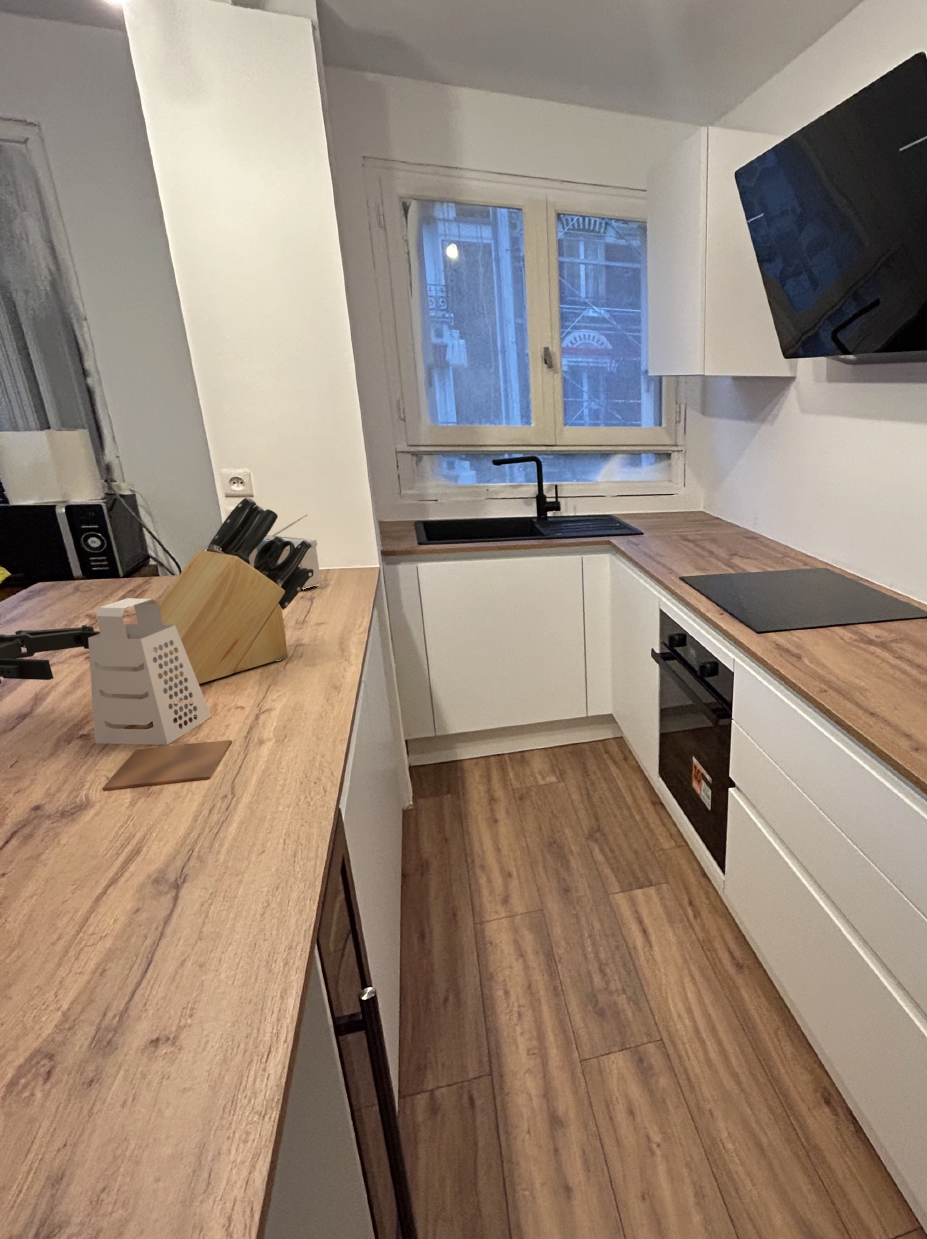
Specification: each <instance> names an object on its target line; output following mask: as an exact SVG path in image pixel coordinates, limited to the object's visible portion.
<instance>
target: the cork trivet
mask: <svg viewBox="0 0 927 1239" xmlns="http://www.w3.org/2000/svg"><path fill="white" fill-rule="evenodd" d="M232 744H233V740H232V739H226V740H217V741H216V740H215V741H207V742H206V741H204V742H195V743H185V744H175V745H174V744H173V745H163V746H153V747H144V748H136V749H135V750H134V751H133V752H132V753H131V754H130V755H129V757H128V758H127V759H126V760H125V761H124V763H123V764H121V766H120V767H119V768H118V769H117V771H116V772H115V773H113V775H112V776H111V777H110V778H109V780H107V782H106V783H105V784H104V785H103V787H102V791H109V790H110V791H111V790H119V789H120V790H121V789H128V788H138V787H147V786H157V785H165V784H175V783H181V782H182V783H183V782H192V781H201V780H209V779H211V778H212V777H213V774H214V773H215V771H216V769H217V768H218V767H219V765H220V763H221V761H222V760H223V758H224V756H225V755H226V753H227V752H228V749H229V748H230V746H231V745H232ZM222 757H223V758H222ZM221 759H222V760H221Z"/></svg>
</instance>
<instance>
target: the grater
mask: <svg viewBox="0 0 927 1239" xmlns="http://www.w3.org/2000/svg"><path fill="white" fill-rule="evenodd" d="M132 606H133V607H134V612H135V616H136V620H137V623H125V621H124V618H123V616H124V613H125V610H126V609H127V608H130V607H132ZM95 618H96V623H97V627H98V630H99V632H100V634H97V635H95V636H92V637H89V638H88V642H89V649H88V654H89V669H90V670H89V671H90V684H91V699H92V701H91V702H92V711H93V712H92V713H93V715H92V716H93V726H94V727H93V729H94V744H109V745H110V744H111V745H112V744H117V745H119V744H120V745H157V746H158V745H161V746H162V745H163V746H169V745H170V744H171V743H174V742H175V741H176V740H177V739H179V738H181V737H182V736H184V735H186V734H187V733H189V732H190V731H192V730H193V729H195V728H197V727H198V726H200V725H202V724H204V723H205V722H206V721H208V720H209V719H211V718H212V717H211V716H212V714H211V711H210V708H209V706H208V703H207V701H206V699H205V696H204V694H203V691H202V688H201V686H200V684H198V681H197V679H196V676H195V674H194V671H193V669H192V666H191V664H190V661H189V659H188V656H187V654H186V651H185V649H184V646H183V644H182V641H181V639H180V636H179V634H178V631H177V629H176V626H175V625H163V623H162V619H161V614H160V610H159V603H158V602H157V601H155V599H154V598H137V597H136V598H135V597H133V598H132V597H127V598H124V599H120V600H118V601H115V602H111V603H108V604H106V605H102V606H98V609H97V611H96V615H95ZM177 648H178V653H175V652H174V650H176V649H177ZM153 649H158V651H157V653H155V652H154V651H153ZM159 649H163V650H159ZM169 650H172V651H173V654H169ZM164 652H167V653H168V654H164ZM143 669H144V670H143ZM159 673H162V675H163V677H158V674H159ZM164 673H168V675H167V676H164ZM175 674H178V676H179V678H175V677H174V676H175ZM180 674H184V675H183V677H181V676H180ZM170 676H172V677H173V678H172V677H170ZM180 701H182V703H181V702H180ZM175 702H177V703H175ZM190 702H192V703H190ZM194 716H197V717H196V719H195V717H194ZM179 717H181V719H179ZM210 717H211V718H210ZM175 718H176V721H177V722H174V719H175ZM190 718H191V719H192V721H191V722H190ZM208 718H209V719H208ZM207 719H208V720H207ZM205 720H206V721H205ZM185 721H186V722H187V723H186V725H185V723H184V722H185ZM204 721H205V722H204ZM151 722H152V726H153V727H150V728H148V729H143V728H142V729H141V728H140V729H139V728H126V727H128V726H129V725H131V726H147V725H149V724H150V723H151ZM180 724H181V725H182V727H181V728H180V726H179V725H180ZM199 724H200V725H199ZM125 726H126V727H125ZM196 726H197V727H196Z"/></svg>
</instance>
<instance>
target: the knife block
mask: <svg viewBox="0 0 927 1239" xmlns="http://www.w3.org/2000/svg"><path fill="white" fill-rule="evenodd" d="M278 518H279V516H278V514H277V513H276V512H275V511H273V510H271V509H269V508H268V509H264V508H263V507H261V506H260V505H258V504H257V503H256V501H255V500H253V499H252V498H251V497H250V496H246V497H244V498H243V499H242V500H241V501H239V503H237V505H236V506H235V507H234V508H233V510H232V511H231V512H230V513H229V514H228V516H227V517H226V518H225V519H224V521H223V523H221V526H220V527H219V528H218V530H217V531H216V533H215V535H214V536H213V537H212V539H211V541H210V542H209V544H208V546H207V548H206V550H202V549H198V550H197V551H195V553H194V555H193V556H192V557H191V558H190V560H189V561H188V563H187V564H186V565H185V567H184V568H183V570H182V571H181V572H180V574H179V575H178V576H177V578H176V579H175V580H174V582H173V583H172V585H171V587H170V588H169V589H168V590H167V592H166V593H165V595H164V596H163V597H162V599H161V600H160V602H159V603H158V605H159V610H160V614H161V619H162V623H163V625H175V626H176V629H177V631H178V634H179V636H180V639H181V641H182V644H183V646H184V649H185V651H186V654H187V656H188V659H189V661H190V664H191V666H192V669H193V671H194V674H195V676H196V679H197V681H198V684H199V685H201V684H204V683H208V682H210V681H213V680H217V679H220V678H224V677H227V676H230V675H233V674H236V673H239V672H243V671H245V670H250V669H252V668H256V667H259V666H262V665H266V664H269V663H273V662H277V661H276V660H280V659H282V660H283V659H286V658H288V657H289V654H288V645H287V639H286V638H287V637H286V630H285V623H284V615H283V611H284V610H285V609H287V608H288V606H290V604H291V603H292V602H293V601H294V599H295V598H296V597H297V596H298V595H299V593H300V592H301V591H302V590H301V589H302V588H303V586H304V585H305V583H306V582H307V581H308V579H309V578H311V577H312V576H313V573H314V570H313V569H307V568H301V569H300V567H298V566H299V564H300V563H301V561H302V559H303V558H304V556H305V554H306V552H307V551H308V549H309V548H311V547H312V545H311V544H310V543H309V542H308V541H306V540H303V541H302V542H301V543H300V544H299V545H297V547H296V548H295V545H294V544H293V543H292V542H291V541H284V540H283V539H282V538H281V537H279V536H280V535H275V536H276V537H275V538H274V539H273V540H270V541H268V542H267V543H265V544H264V545H263V546H262V547H261V548H260V550H259V551H258V553H257V554H256V556H255V559H254V567H252V566H250V561H249V556H250V554H251V553H252V552H253V550H254V549H255V548H256V547H257V546H258V545H259V544H260V543H261V542H262V541H263V539H264V538H265V537H266V535H269V533H270V532H271V529H272V528H273V527H274V525H275V523H276V521H277V519H278ZM287 546H290V552H289V554H288V556H287V557H286V558H285V559H284V560H283V561H282V562H281V563H280V564H277V562H278V560H279V558H280V556H281V555H282V553H283V551H284V549H285V548H286V547H287ZM276 564H277V565H276ZM262 572H266V573H267V572H268V573H267V575H266V573H262ZM265 575H266V576H265ZM159 650H163V649H159ZM153 651H154V652H155V653H157V651H158V649H153ZM174 652H175V653H178V648H177V649H176V650H174ZM164 654H168V653H167V652H164ZM169 654H173V651H172V650H169ZM280 661H281V660H280ZM143 670H144V669H143ZM167 675H168V673H164V676H167ZM183 675H184V674H180V676H181V677H183ZM158 677H163V675H162V673H159V674H158ZM170 677H172V676H170ZM174 677H175V678H179V676H178V674H175V676H174ZM172 678H173V677H172Z"/></svg>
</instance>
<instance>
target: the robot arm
mask: <svg viewBox="0 0 927 1239" xmlns="http://www.w3.org/2000/svg"><path fill="white" fill-rule="evenodd" d="M94 629H95V628H94V626H92V625H91V626H90V625H86V624H83V625H81V626H80V627H79V626H78V627H65V628H51V629H50V628H49V629H37V630H32V629H31V630H29V629H28V630H26V629H25V630H22V629H19V630H16V631H15V632H14V633H15V634H4V633H3V634H1V633H0V684H2V679H7V680H8V679H11V680H35V681H36V680H37V681H40V680H41V681H51V680H53V679H54V674H53V671H52V667H51V664H50V660H49V659H36V658H33V659H32V658H31V657H34V655H35V654H37V653H44V652H52V651H53V652H54V651H62V650H69V649H78V648H83V649H84V650H89V642H88V638H89V637H92V636H95V635H97V634H100V631H97V630H96V631H95V630H94ZM22 648H24V649H25V650H26V651H24V652H23V649H22ZM1 678H2V679H1Z"/></svg>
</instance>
